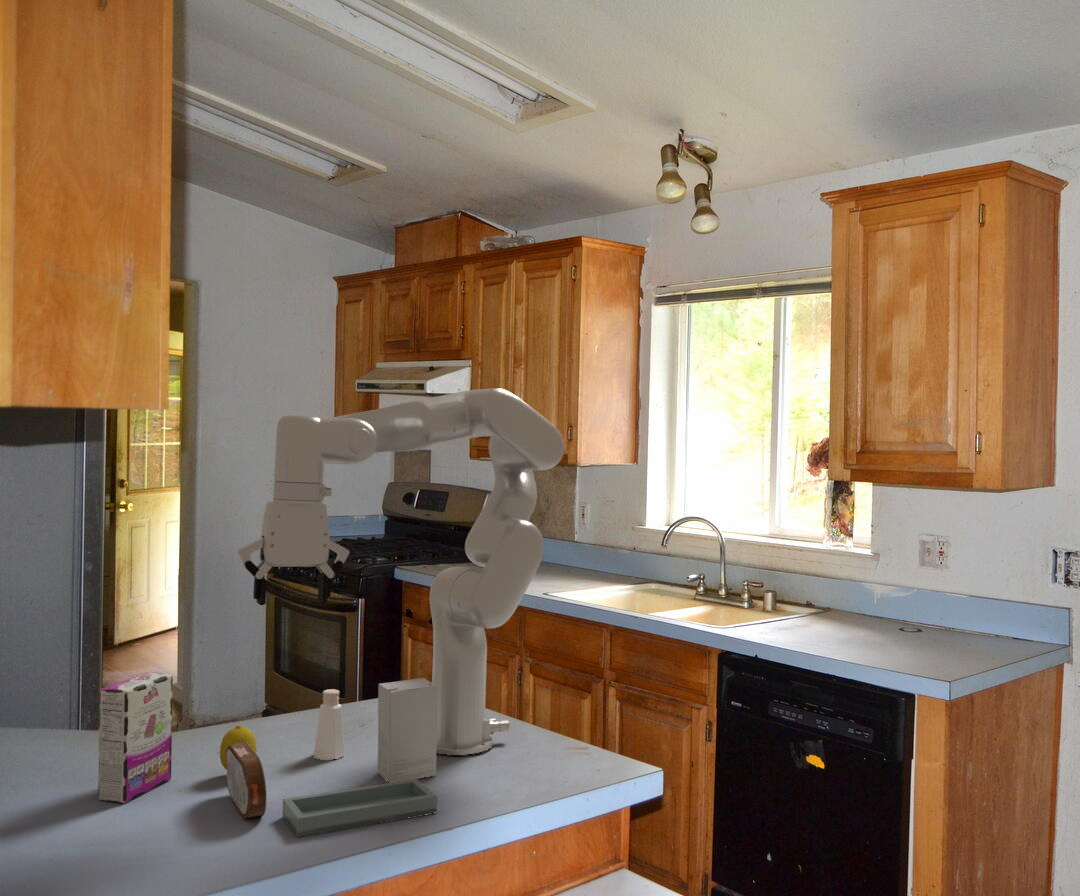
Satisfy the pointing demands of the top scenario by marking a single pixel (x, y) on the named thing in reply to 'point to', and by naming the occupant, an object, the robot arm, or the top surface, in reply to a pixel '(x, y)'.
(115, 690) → the candy bar box
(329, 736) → the pepper shaker
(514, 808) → the top surface
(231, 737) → the lemon
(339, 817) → the tray
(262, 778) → the tin
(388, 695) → the skincare box
